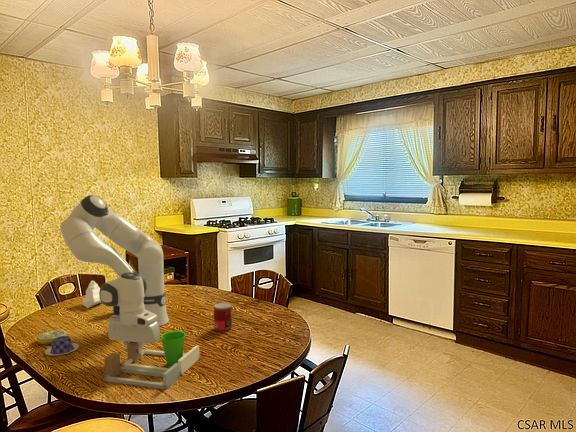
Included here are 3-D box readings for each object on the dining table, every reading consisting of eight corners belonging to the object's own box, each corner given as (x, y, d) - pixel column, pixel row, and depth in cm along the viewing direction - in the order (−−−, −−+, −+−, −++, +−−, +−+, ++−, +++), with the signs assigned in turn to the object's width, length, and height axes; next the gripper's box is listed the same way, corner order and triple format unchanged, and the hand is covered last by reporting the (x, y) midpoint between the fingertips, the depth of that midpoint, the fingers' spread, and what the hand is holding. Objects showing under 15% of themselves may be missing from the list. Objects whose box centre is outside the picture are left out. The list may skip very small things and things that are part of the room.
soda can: (124, 315, 201) (123, 291, 200) (111, 315, 201) (109, 292, 200) (130, 310, 208) (129, 288, 207) (117, 310, 208) (116, 288, 207)
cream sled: (119, 367, 144) (118, 348, 143) (142, 351, 157) (141, 334, 156) (181, 374, 137) (180, 355, 137) (199, 358, 150) (198, 340, 150)
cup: (164, 359, 150) (163, 331, 149) (188, 358, 150) (188, 330, 149) (158, 370, 141) (157, 340, 140) (184, 369, 141) (183, 339, 141)
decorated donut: (70, 340, 170) (70, 331, 169) (42, 348, 162) (41, 339, 161) (62, 334, 177) (61, 326, 176) (34, 341, 169) (33, 333, 169)
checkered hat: (57, 359, 151) (57, 346, 151) (38, 354, 157) (37, 341, 156) (85, 347, 162) (85, 335, 162) (66, 342, 167) (65, 330, 167)
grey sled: (101, 380, 134) (100, 360, 134) (117, 369, 142) (116, 350, 141) (166, 389, 128) (165, 368, 127) (179, 377, 136) (178, 357, 135)
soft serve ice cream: (75, 311, 213) (70, 285, 214) (95, 305, 227) (89, 281, 228) (95, 306, 210) (89, 280, 211) (113, 300, 225) (108, 276, 226)
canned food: (228, 332, 176) (228, 308, 175) (211, 331, 178) (211, 307, 177) (234, 326, 183) (233, 303, 182) (218, 325, 185) (217, 302, 184)
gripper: (103, 317, 148) (105, 353, 149) (151, 321, 143) (153, 358, 144) (114, 311, 154) (116, 346, 155) (161, 315, 149) (162, 351, 150)
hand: (134, 352), depth 150 cm, fingers closed on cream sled, 3 cm apart
